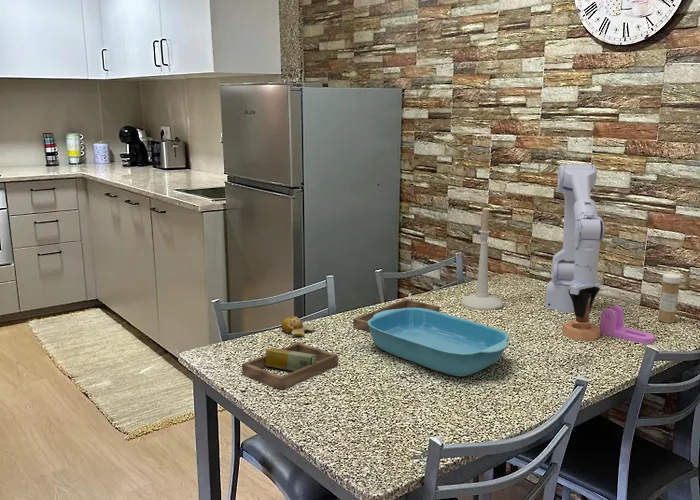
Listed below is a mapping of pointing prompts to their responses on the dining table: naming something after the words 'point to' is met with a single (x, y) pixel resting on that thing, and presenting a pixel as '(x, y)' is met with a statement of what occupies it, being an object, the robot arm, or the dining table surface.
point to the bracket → (621, 327)
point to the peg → (586, 316)
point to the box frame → (282, 382)
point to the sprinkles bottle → (669, 297)
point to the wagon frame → (363, 320)
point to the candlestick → (483, 275)
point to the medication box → (288, 359)
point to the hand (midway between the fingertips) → (582, 315)
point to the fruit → (294, 326)
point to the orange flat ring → (581, 331)
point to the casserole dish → (438, 340)
